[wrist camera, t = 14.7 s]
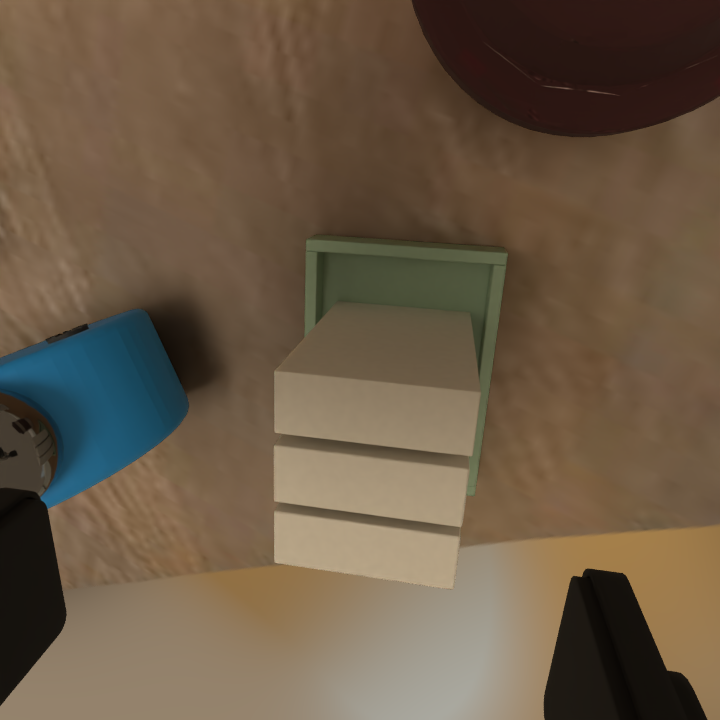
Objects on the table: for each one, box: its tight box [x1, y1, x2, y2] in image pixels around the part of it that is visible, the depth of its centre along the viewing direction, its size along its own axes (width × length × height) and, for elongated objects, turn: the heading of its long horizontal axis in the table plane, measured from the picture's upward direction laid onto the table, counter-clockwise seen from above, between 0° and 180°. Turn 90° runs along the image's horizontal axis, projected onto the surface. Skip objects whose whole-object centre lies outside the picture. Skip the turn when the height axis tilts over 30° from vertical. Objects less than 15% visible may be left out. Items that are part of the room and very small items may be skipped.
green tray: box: [304, 235, 508, 496], centre depth 29 cm, size 13×10×2 cm
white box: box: [274, 301, 481, 456], centre depth 24 cm, size 2×7×11 cm, turn 87°
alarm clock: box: [0, 309, 189, 509], centre depth 26 cm, size 13×6×15 cm, turn 110°
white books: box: [274, 434, 470, 590], centre depth 25 cm, size 5×7×11 cm
